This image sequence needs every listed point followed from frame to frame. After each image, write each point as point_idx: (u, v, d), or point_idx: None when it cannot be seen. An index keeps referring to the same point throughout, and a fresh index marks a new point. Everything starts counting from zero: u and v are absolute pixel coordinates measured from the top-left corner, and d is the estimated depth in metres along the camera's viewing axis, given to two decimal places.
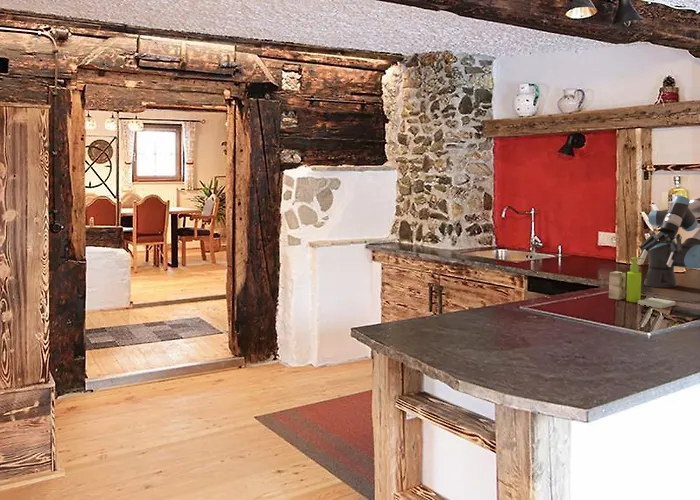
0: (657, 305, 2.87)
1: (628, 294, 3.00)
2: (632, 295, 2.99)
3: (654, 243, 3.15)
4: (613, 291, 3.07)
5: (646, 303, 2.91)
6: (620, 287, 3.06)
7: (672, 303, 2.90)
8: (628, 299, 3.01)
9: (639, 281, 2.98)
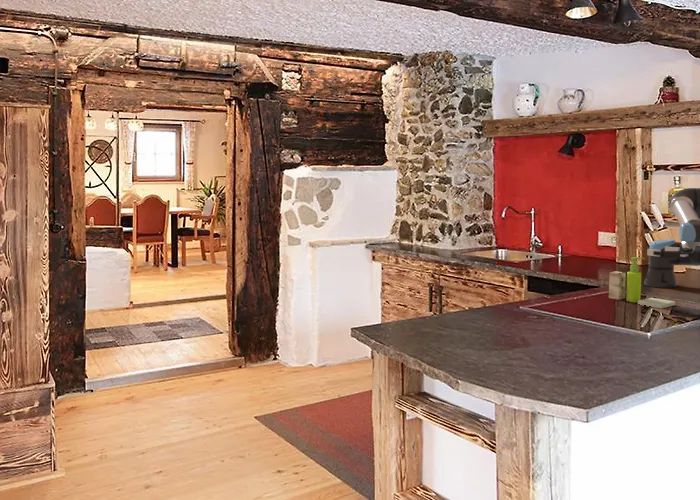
0: (657, 305, 2.87)
1: (628, 294, 3.00)
2: (632, 295, 2.99)
3: None
4: (613, 291, 3.07)
5: (646, 303, 2.91)
6: (620, 287, 3.06)
7: (672, 303, 2.90)
8: (628, 299, 3.01)
9: (639, 281, 2.98)
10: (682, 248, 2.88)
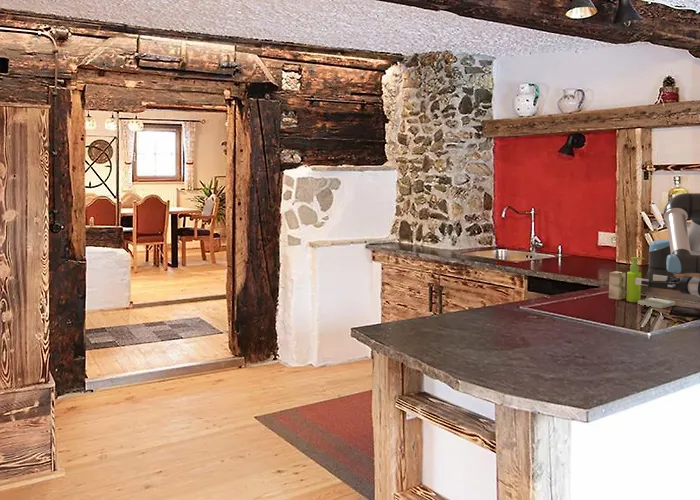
0: (657, 305, 2.87)
1: (628, 294, 3.00)
2: (632, 295, 2.99)
3: None
4: (613, 291, 3.07)
5: (646, 303, 2.91)
6: (620, 287, 3.06)
7: (672, 303, 2.90)
8: (628, 299, 3.01)
9: None
10: (670, 277, 2.93)
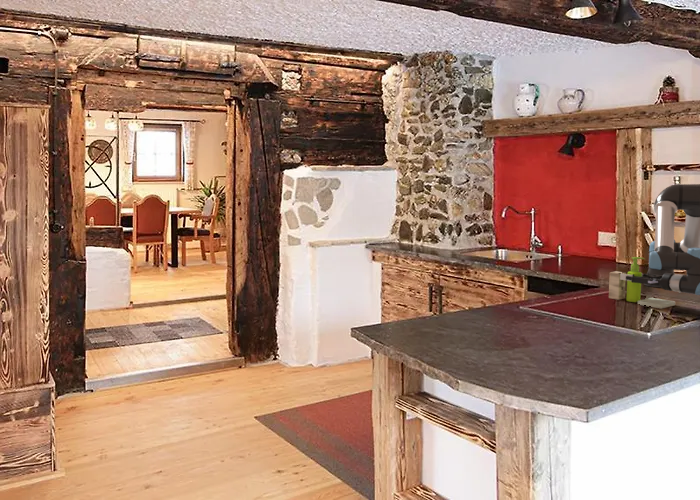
0: (657, 305, 2.87)
1: (628, 294, 3.00)
2: (632, 294, 2.99)
3: None
4: (613, 291, 3.07)
5: (646, 303, 2.91)
6: (620, 287, 3.06)
7: (672, 303, 2.90)
8: (628, 299, 3.01)
9: None
10: (646, 274, 2.99)
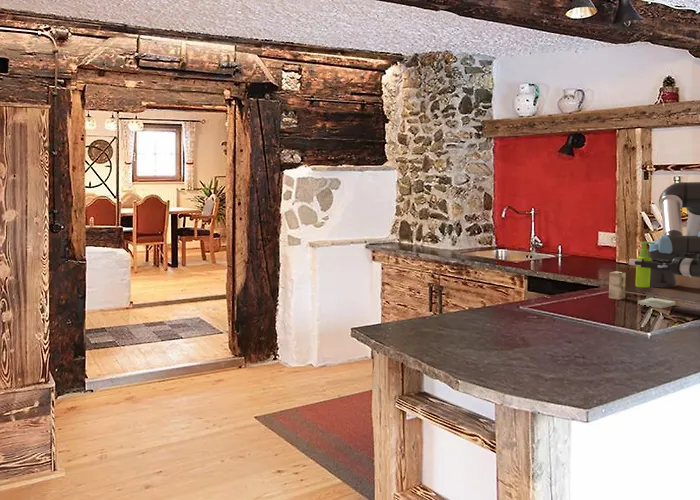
0: (657, 305, 2.87)
1: (637, 279, 2.96)
2: (642, 280, 2.94)
3: None
4: (613, 291, 3.07)
5: (646, 303, 2.91)
6: (620, 287, 3.06)
7: (672, 303, 2.90)
8: (637, 284, 2.96)
9: None
10: (655, 259, 2.95)
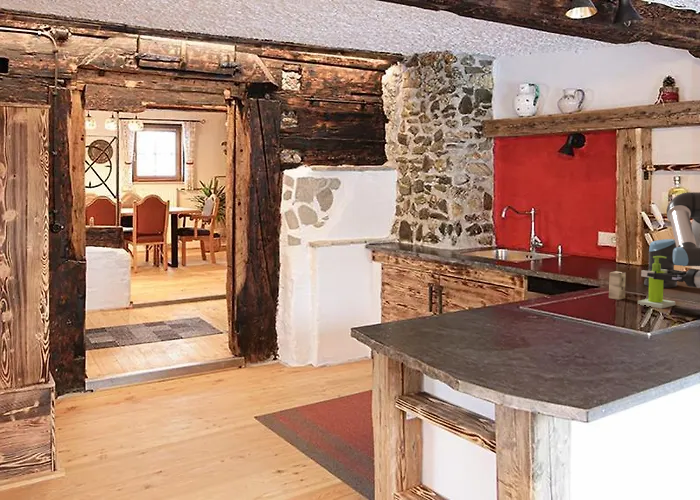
0: (657, 305, 2.87)
1: (650, 294, 2.92)
2: (655, 295, 2.90)
3: None
4: (613, 291, 3.07)
5: (646, 303, 2.91)
6: (620, 287, 3.06)
7: (672, 303, 2.90)
8: (650, 299, 2.92)
9: (662, 280, 2.90)
10: (670, 270, 2.91)
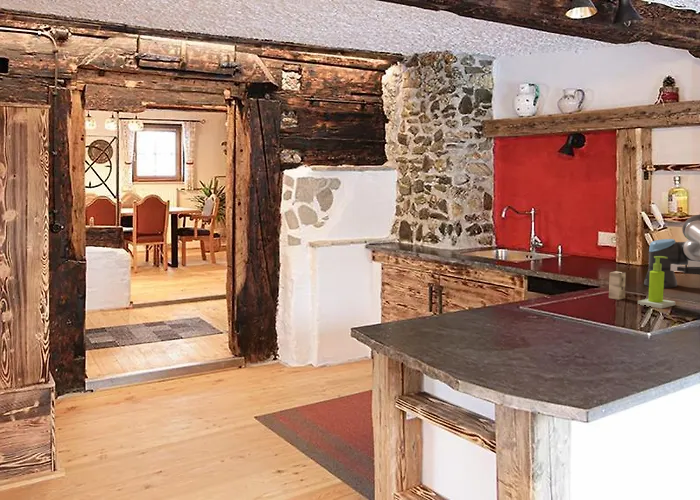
0: (657, 305, 2.87)
1: (650, 294, 2.92)
2: (655, 295, 2.90)
3: None
4: (613, 291, 3.07)
5: (646, 303, 2.91)
6: (620, 287, 3.06)
7: (672, 303, 2.90)
8: (650, 299, 2.92)
9: (662, 280, 2.90)
10: None
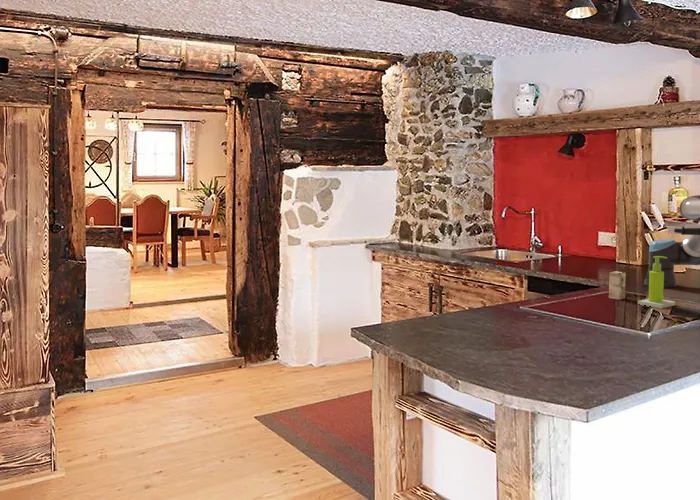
0: (657, 305, 2.87)
1: (650, 294, 2.92)
2: (655, 295, 2.90)
3: None
4: (613, 291, 3.07)
5: (646, 303, 2.91)
6: (620, 287, 3.06)
7: (672, 303, 2.90)
8: (650, 299, 2.92)
9: (662, 280, 2.90)
10: None
